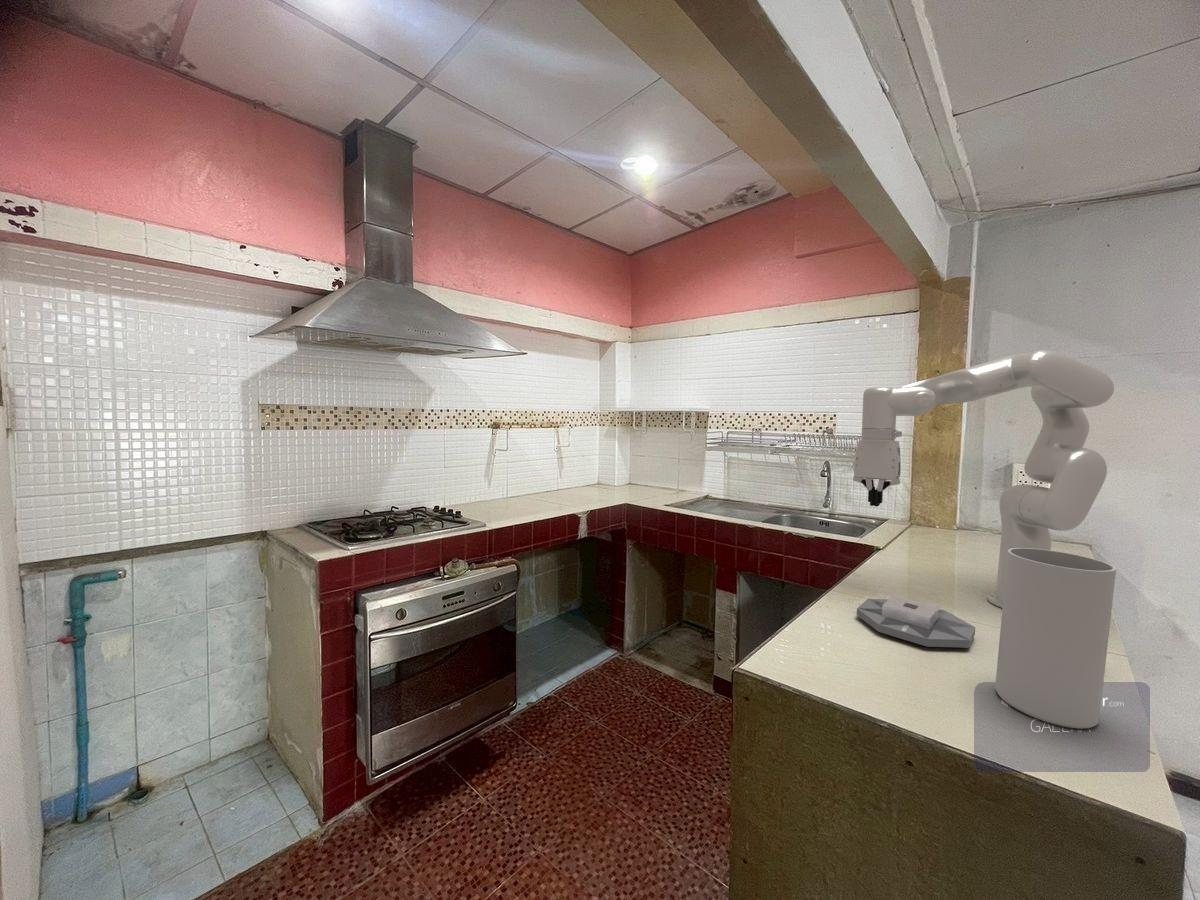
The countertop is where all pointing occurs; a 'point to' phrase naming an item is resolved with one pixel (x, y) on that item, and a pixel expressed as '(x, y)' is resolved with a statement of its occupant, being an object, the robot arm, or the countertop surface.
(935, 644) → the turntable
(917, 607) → the cover
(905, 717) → the countertop surface
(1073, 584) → the cylinder vase
